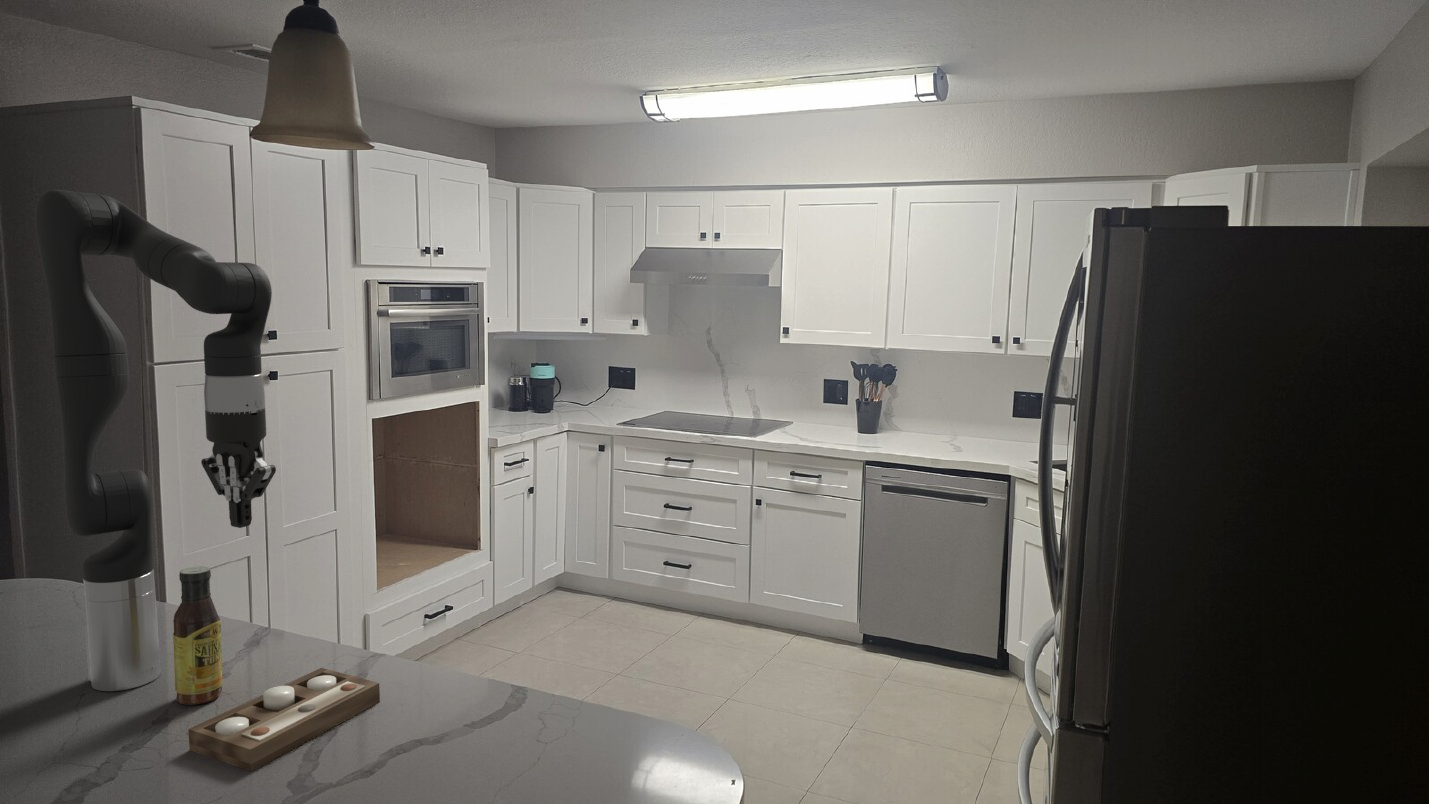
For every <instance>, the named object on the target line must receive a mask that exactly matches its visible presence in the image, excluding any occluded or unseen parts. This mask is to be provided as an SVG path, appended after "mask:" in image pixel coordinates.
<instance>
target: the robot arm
mask: <svg viewBox="0 0 1429 804" xmlns="http://www.w3.org/2000/svg"><path fill="white" fill-rule="evenodd" d="M34 227H35V228H34V229H35V235H36V241H37V245H38V250H39V256H40V260H41V266H42V270H43V271H42V272H43V276H44V279H45V280H44V281H45V285H46V292H47V298H48V304H49V314H50V322H51V323H50V324H51V334H52V335H51V336H52V337H51V338H52V351H53V352H52V353H53V354H52V355H53V363H54V366H53V367H54V375H55V384H56V390H57V398H58V405H59V406H58V407H59V413H60V421H61V430H62V450H63V451H62V452H63V453H62V454H63V455H62V456H63V495H64V496H63V497H64V510H65V517H66V522H67V525H68V527H69V529H70V532H71V533H72V534H74V535H75V536H77V537H88V536H89V537H91V536H96V535H101V534H109V533H114V532H121V531H122V533H121V535H120V536H119V537H118V538H117V539H116V540H114V541H113V542H112V543H111V544H109V545H107V546H106V547H103V548H102V549H100V550H98V551H95V552H94V553H92V554H90V555H88V556H87V557H86V558H85V559H84V560H83V562H82V566H81V571H82V572H81V573H82V581H83V593H84V596H83V597H84V605H85V618H86V619H85V620H86V621H85V623H84V632H85V633H84V634H85V637H84V638H85V647H86V660H87V673H88V681H90V684H91V687H92V688H93V690H95V691H101V692H115V691H117V692H118V691H125V690H130V689H133V688H137V687H140V686H143V685H147V684H148V683H151V682H153V681H154V680H156V679H157V678H158V677H159V676H160V675H161V671H162V670H161V659H160V657H161V656H160V655H161V654H160V641H159V628H158V627H159V626H158V614H157V613H158V612H157V611H158V610H157V599H156V597H157V595H156V586H155V585H156V584H155V583H156V582H155V569H154V540H153V539H154V538H153V493H152V487H151V482H150V480H149V478H148V476H147V474H146V473H145V472H144V471H143V470H141V469H138V468H134V469H133V468H132V469H121V470H120V469H119V470H114V471H105V472H97V473H93V471H92V470H93V461H94V456H95V451H96V448H97V445H98V443H99V440H100V439H101V436H102V435H103V432H104V430H105V429H106V428H107V426H108V424H109V422H110V421H111V419H112V418H113V416H114V415H115V414H116V412H117V410H118V408H119V407H120V405H121V403H122V402H123V400H124V398H125V396H126V394H127V392H128V390H129V386H130V381H131V380H130V369H129V359H128V347H127V343H126V340H125V337H124V335H123V333H122V332H121V331H120V329H119V328H118V326H117V325H116V323H115V322H114V320H113V319H112V318H111V317H110V315H109V314H108V313H107V312H106V311H105V310H104V308H103V307H102V306H101V304H100V303H99V301H98V300H97V299H96V297H95V296H94V294H93V292H92V291H91V289H90V286H89V284H88V281H87V279H86V274H85V271H84V270H85V269H84V266H83V260H82V259H83V258H82V255H83V256H98V257H99V256H100V257H101V256H109V255H110V256H119V257H125V258H128V259H133V261H134V264H135V266H136V267H137V268H138V270H139V271H140V272H141V273H142V274H143V275H144V276H145V277H147V278H148V279H150V280H151V281H153V282H155V283H157V284H159V285H162V286H163V287H165V288H168V289H170V290H172V291H175V292H176V293H177V295H179V297H180V298H181V299H182V300H183V301H185V303H186V304H187V305H188V306H189V307H190V308H192V309H194V310H196V311H198V312H201V313H204V314H210V315H228V314H230V316H229V320H228V323H227V325H226V326H225V327H224V328H222V329H221V330H216V331H213V332H212V333H209V334H208V335H206V336H205V338H204V341H203V360H204V361H203V362H204V374H205V375H204V386H203V387H204V388H203V397H204V398H203V401H204V415H205V416H204V417H205V437H206V440H207V441H208V442H211V443H213V446H212V450H211V451H212V454H211V455H210V456H209V457H206V458H202V459H201V466H202V468H203V469H204V472H205V473H206V475H207V477H208V478H209V480H210V482H211V484H212V486H213V488H214V490H215V492H216V494H217V495H218V496H224V499H225V500H226V502H228V512H229V513H228V514H229V515H228V516H229V521H230V526H231V527H233V528H238V529H242V528H245V527H249V526H251V524H252V520H253V517H252V516H253V515H252V514H253V513H252V500H253V499H256V498H259V497H263V495H264V492H265V491H266V489H267V488H268V486H269V484H270V483H271V481H272V480H273V479H272V478H273V477H274V475H275V474H276V471H277V467H276V466H275V465H274V464H271V465H268V464H267V462H265V460H264V451H263V449H262V446H261V441H262V440H263V439H265V438H266V436H267V420H266V415H267V414H266V395H265V384H264V381H263V373H262V372H263V370H262V369H263V368H262V353H261V351H262V350H261V343H262V340H263V336H264V333H265V328H266V323H267V320H268V316H269V313H270V308H271V303H272V285H271V281H270V279H269V276H268V274H267V273H266V272H265V270H264V269H263V268H262V267H261V266H259V265H257V264H255V263H252V262H251V263H250V262H233V261H232V262H227V261H226V262H221V261H219V262H218V261H216V259H215V258H214V256H213V255H212V254H211V253H209V252H208V251H207V250H205V249H204V248H202V247H199V246H198V245H196V244H193V243H190V242H188V241H186V240H184V239H181V238H180V237H176V236H174V235H172V234H170V233H167V232H166V231H164V230H162V229H160V228H158V227H157V226H155V225H154V224H152V223H151V222H149V221H147V220H146V219H145V218H144V217H142V216H141V215H139V214H138V213H136V212H135V211H134V210H133V209H131V208H130V207H128V205H125V204H124V203H122V202H121V201H120V200H118V199H116V198H114V197H112V196H109V195H105V194H100V193H92V192H91V193H90V192H84V191H83V192H80V191H74V190H73V191H72V190H64V189H49V190H46V191H44V192H43V193H41V194H40V196H39V197H38V198H37V201H36V205H35V210H34Z"/></svg>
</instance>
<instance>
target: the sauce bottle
mask: <svg viewBox="0 0 1429 804" xmlns="http://www.w3.org/2000/svg"><path fill="white" fill-rule="evenodd" d="M211 573H212V572H211V568H210V567H208V566H203V565H202V566H192V567H186V568H183V569H181V570H180V571H179V575H178V576H179V581H180V583H181V585H180V587H181V588H180V589H181V597H180V598H181V602H180V604H179V606H178V607H177V610H176V611H175V613H174V614H173V615H174V616H173V634H172V637H173V638H172V640H173V658H174V659H173V662H174V664H173V665H174V666H173V667H174V691H175V692H176V701H177V703H179V704H180V705H186V706H195V705H200V704H201V705H202V704H206V703H209V702H212V701H214V700H216V699H217V698H219V696H220V695H221V694H222V691H223V684H224V683H223V682H224V681H223V657H222V656H223V655H222V654H223V651H222V627H221V626H222V625H221V622H222V621H221V619H220V616H219V615H218V611H217V609H216V606H215V604H214V602H213V599H212V594H211V584H210V582H211V581H210V580H211V577H212V575H211Z"/></svg>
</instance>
